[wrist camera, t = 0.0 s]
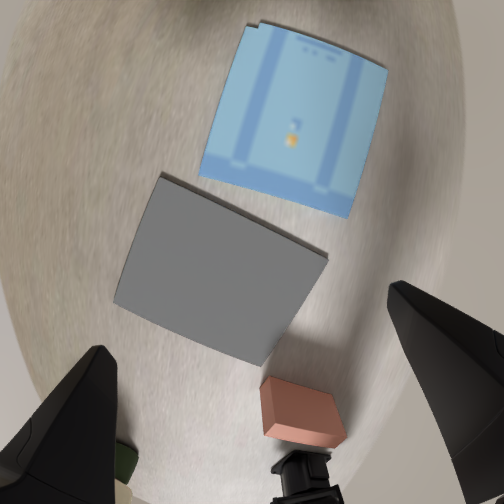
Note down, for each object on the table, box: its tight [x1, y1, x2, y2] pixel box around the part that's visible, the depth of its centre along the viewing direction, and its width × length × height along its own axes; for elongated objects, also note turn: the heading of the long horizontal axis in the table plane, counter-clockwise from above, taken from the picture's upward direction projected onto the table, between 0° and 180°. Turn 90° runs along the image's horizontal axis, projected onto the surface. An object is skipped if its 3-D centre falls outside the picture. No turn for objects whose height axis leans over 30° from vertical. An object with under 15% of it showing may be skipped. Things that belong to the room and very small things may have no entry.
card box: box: [260, 376, 347, 449], centre depth 25 cm, size 2×8×6 cm, turn 63°
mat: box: [113, 177, 329, 367], centre depth 24 cm, size 12×15×1 cm
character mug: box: [115, 443, 139, 504], centre depth 25 cm, size 11×7×13 cm, turn 4°
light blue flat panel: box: [198, 23, 388, 219], centre depth 20 cm, size 14×12×1 cm
